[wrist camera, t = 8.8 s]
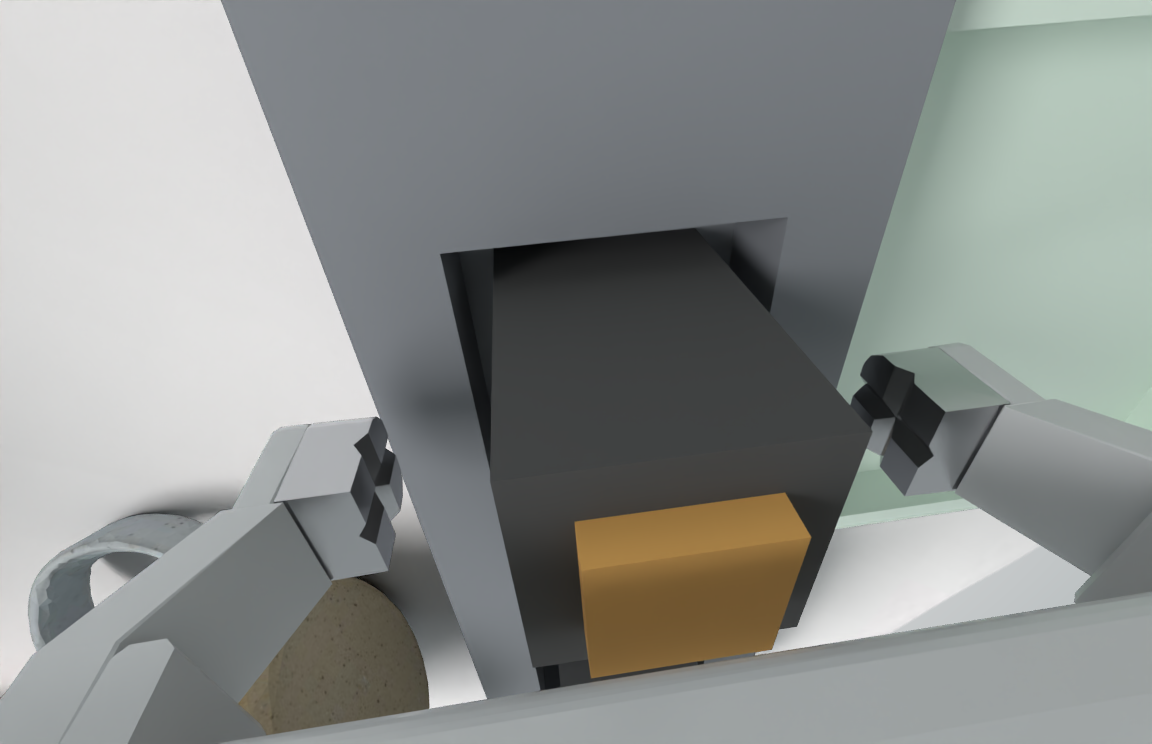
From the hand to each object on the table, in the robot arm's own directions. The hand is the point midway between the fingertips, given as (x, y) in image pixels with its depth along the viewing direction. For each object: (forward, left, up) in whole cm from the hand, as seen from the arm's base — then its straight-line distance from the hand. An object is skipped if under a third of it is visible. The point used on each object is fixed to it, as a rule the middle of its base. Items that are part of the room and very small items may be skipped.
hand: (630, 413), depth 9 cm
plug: (0, 0, -3) cm, 3 cm away
